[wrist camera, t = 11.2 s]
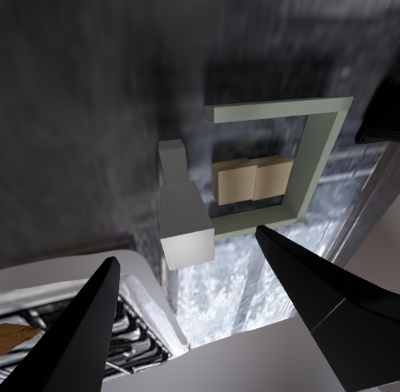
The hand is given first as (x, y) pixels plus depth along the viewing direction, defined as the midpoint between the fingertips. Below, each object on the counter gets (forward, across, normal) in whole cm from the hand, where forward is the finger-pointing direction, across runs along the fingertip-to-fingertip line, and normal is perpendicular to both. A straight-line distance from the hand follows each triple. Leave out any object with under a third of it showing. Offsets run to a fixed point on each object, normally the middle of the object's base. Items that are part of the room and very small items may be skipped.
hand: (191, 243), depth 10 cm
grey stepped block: (+8, 0, 0) cm, 9 cm away
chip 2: (+9, -10, 0) cm, 13 cm away
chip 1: (+9, -6, 0) cm, 11 cm away
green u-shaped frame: (+8, -9, 0) cm, 12 cm away
